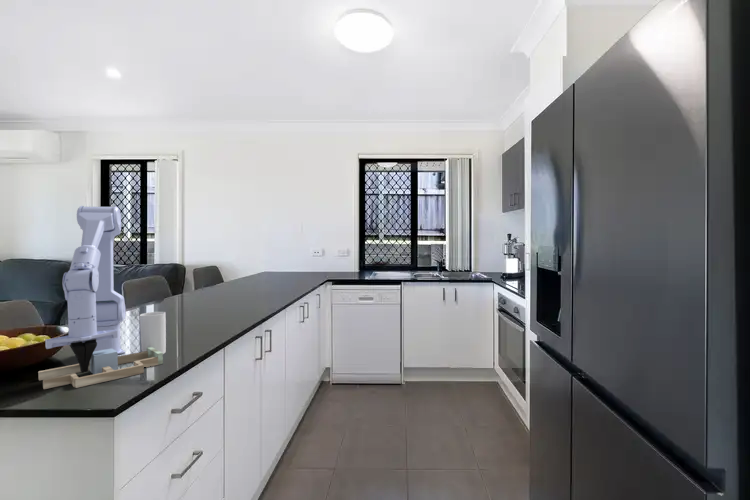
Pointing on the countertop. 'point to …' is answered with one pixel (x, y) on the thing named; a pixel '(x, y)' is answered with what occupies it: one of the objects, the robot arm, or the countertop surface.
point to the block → (103, 360)
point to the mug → (153, 331)
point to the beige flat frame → (69, 377)
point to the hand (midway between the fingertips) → (84, 371)
